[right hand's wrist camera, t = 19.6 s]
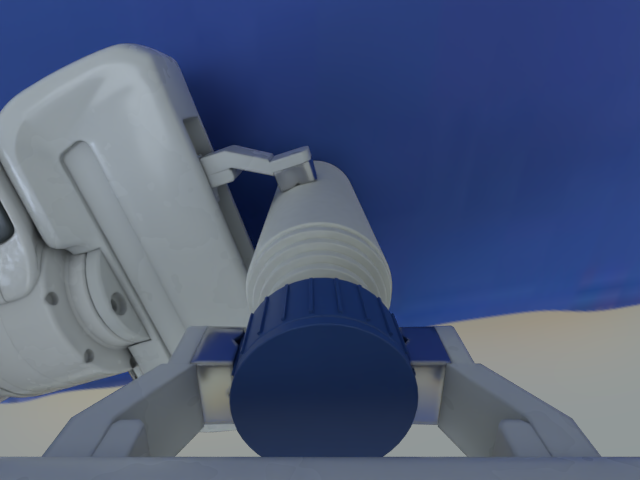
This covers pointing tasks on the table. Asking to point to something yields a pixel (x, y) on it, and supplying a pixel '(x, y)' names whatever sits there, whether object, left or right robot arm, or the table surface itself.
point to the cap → (322, 374)
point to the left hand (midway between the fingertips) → (332, 221)
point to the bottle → (317, 240)
